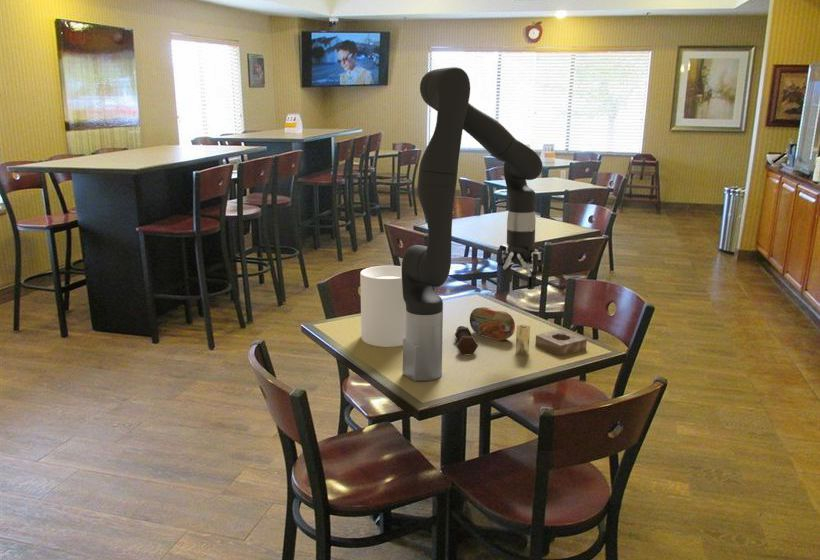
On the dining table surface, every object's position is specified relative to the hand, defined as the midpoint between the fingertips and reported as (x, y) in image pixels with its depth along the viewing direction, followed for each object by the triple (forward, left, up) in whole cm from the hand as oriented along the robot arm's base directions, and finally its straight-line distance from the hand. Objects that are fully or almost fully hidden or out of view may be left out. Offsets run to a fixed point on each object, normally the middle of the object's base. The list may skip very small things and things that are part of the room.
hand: (519, 285), depth 181 cm
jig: (+12, -5, -19) cm, 23 cm away
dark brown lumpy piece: (-10, +11, -19) cm, 24 cm away
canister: (-26, +28, -19) cm, 42 cm away
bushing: (-1, -3, -19) cm, 19 cm away
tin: (+1, +13, -19) cm, 23 cm away
